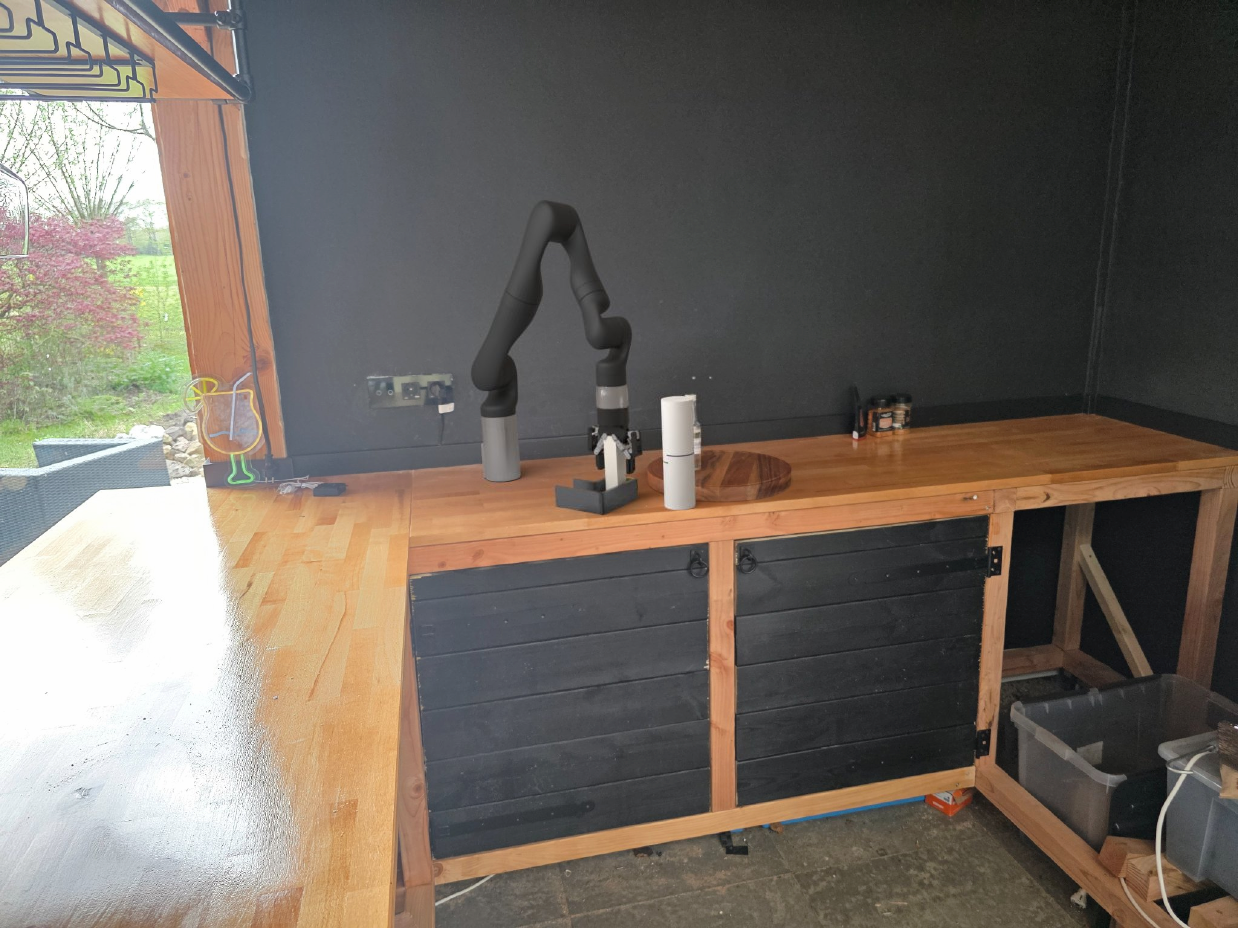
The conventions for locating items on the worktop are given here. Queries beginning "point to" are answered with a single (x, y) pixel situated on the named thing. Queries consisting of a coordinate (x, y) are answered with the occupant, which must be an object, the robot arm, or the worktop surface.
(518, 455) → the robot arm
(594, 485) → the dark open tray
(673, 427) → the cylindrical container
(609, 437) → the peg
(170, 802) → the worktop surface
